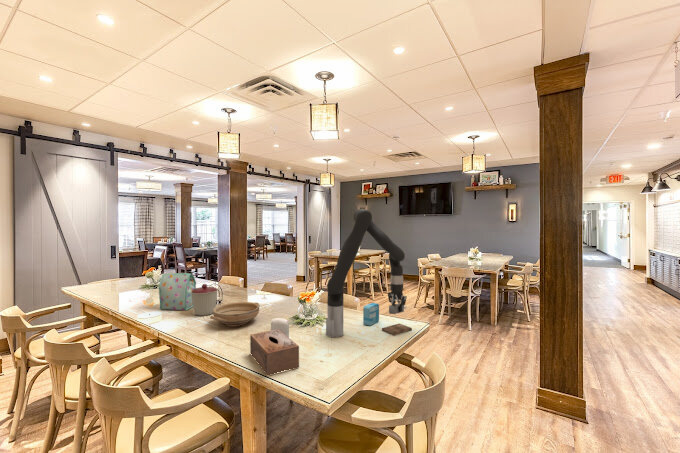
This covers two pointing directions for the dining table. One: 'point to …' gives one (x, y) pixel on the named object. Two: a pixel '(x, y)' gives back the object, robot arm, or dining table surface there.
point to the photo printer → (280, 325)
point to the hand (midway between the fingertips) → (396, 311)
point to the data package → (371, 314)
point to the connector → (395, 309)
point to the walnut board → (396, 329)
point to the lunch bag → (176, 291)
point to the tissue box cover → (274, 351)
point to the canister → (204, 300)
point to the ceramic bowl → (235, 313)
